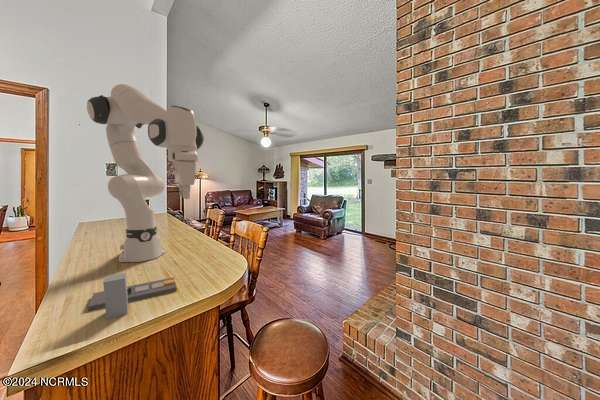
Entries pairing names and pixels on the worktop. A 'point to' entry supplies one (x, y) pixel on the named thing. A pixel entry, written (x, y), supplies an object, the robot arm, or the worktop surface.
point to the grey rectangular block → (116, 295)
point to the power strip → (137, 292)
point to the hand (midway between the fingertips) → (184, 197)
